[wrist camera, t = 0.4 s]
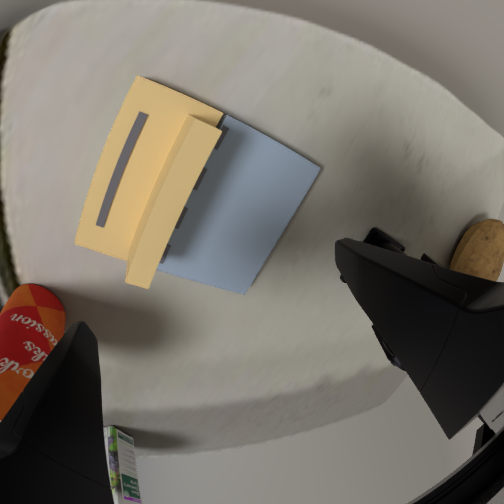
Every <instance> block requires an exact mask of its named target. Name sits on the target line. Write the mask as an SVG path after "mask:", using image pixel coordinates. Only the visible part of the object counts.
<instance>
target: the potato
mask: <svg viewBox="0 0 504 504" xmlns="http://www.w3.org/2000/svg"><path fill="white" fill-rule="evenodd" d="M503 262H504V224H503V223H502V221H500V220H495V219H488V220H484V221H481V222H478V223H476V224H475V225H473V226H471V227H470V228H469V229H468V230H467V231H466V232H465V234H464V236H463V237H462V239H461V241H460V243H459V244H458V246H457V248H456V251H455V253H454V256H453V258H452V261H451V264H450V268H449V269H451V270H454V271H458V272H461V273H465V274H469V275H473V276H477V277H481V278H485V279H488V280H492V281H497V279H498V277H499V275H500V272H501V269H502V266H503Z"/></svg>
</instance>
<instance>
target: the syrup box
mask: <svg viewBox="0 0 504 504" xmlns="http://www.w3.org/2000/svg"><path fill="white" fill-rule="evenodd" d="M103 429H104V440H105V449H106V457H107V465H108V472H109V478H110V484H111V489H112V494H113V499H114V504H142V501H141V495H140V489H139V483H138V476H137V468H136V460H135V451H134V440H133V437H130V436H128V435H127V434H125V433H123V432H121V431H120V430H118V429H116V428H115V427H114V426H107V427H103Z"/></svg>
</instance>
